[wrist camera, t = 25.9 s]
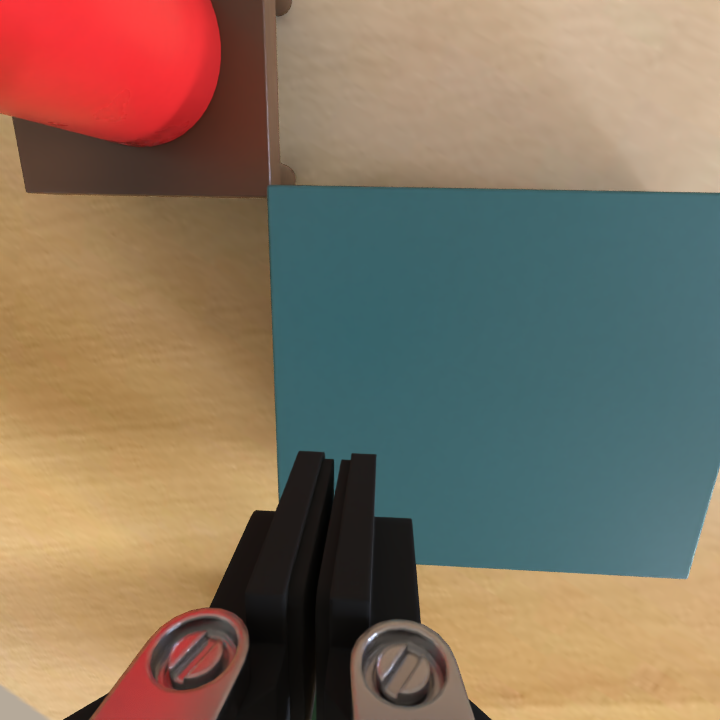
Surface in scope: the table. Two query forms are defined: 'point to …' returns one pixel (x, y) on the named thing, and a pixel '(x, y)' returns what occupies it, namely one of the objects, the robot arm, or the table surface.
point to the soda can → (109, 66)
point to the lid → (507, 366)
